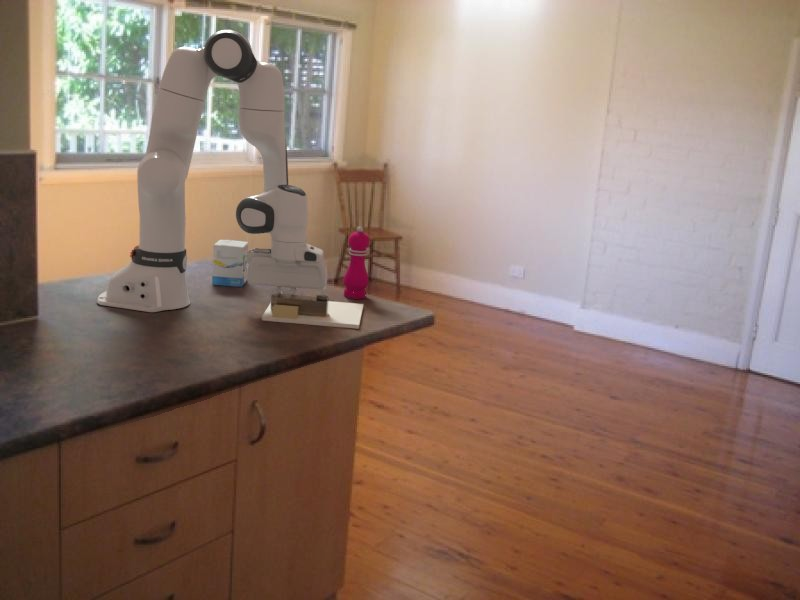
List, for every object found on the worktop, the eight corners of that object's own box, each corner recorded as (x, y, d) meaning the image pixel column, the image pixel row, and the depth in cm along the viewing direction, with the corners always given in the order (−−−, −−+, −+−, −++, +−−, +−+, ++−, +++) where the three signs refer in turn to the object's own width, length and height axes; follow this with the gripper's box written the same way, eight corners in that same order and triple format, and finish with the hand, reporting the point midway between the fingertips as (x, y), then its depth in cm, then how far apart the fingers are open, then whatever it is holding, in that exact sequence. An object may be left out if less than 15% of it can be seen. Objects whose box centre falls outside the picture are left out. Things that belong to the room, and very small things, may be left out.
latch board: (261, 320, 216) (262, 306, 215) (274, 299, 235) (275, 287, 235) (358, 328, 216) (359, 315, 215) (363, 307, 236) (364, 295, 235)
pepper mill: (364, 300, 243) (369, 229, 238) (339, 297, 244) (344, 226, 239) (370, 295, 250) (375, 225, 244) (345, 291, 251) (350, 222, 246)
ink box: (241, 287, 245) (243, 246, 242) (211, 285, 245) (212, 244, 242) (247, 280, 254) (249, 241, 251) (218, 278, 253) (219, 238, 251)
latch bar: (327, 312, 223) (328, 295, 222) (326, 316, 219) (327, 298, 218) (271, 307, 223) (272, 289, 222) (269, 311, 220) (270, 293, 218)
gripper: (244, 249, 217) (243, 303, 220) (327, 256, 217) (324, 309, 221) (249, 244, 223) (247, 297, 227) (329, 251, 223) (326, 303, 227)
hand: (285, 303), depth 224 cm, fingers closed
